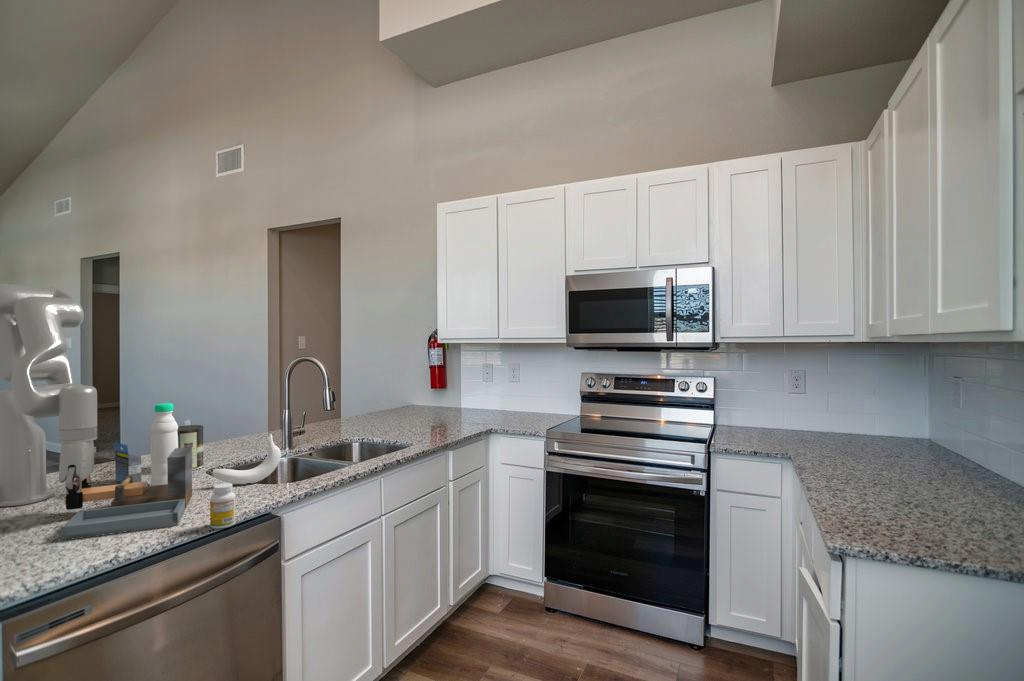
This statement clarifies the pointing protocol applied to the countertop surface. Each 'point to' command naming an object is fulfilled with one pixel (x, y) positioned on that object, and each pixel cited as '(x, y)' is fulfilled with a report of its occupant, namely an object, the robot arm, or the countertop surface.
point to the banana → (255, 473)
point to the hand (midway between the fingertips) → (78, 503)
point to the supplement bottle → (222, 506)
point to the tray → (124, 519)
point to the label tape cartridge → (126, 464)
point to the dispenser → (174, 490)
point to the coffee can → (192, 442)
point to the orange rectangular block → (112, 491)
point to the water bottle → (162, 442)
